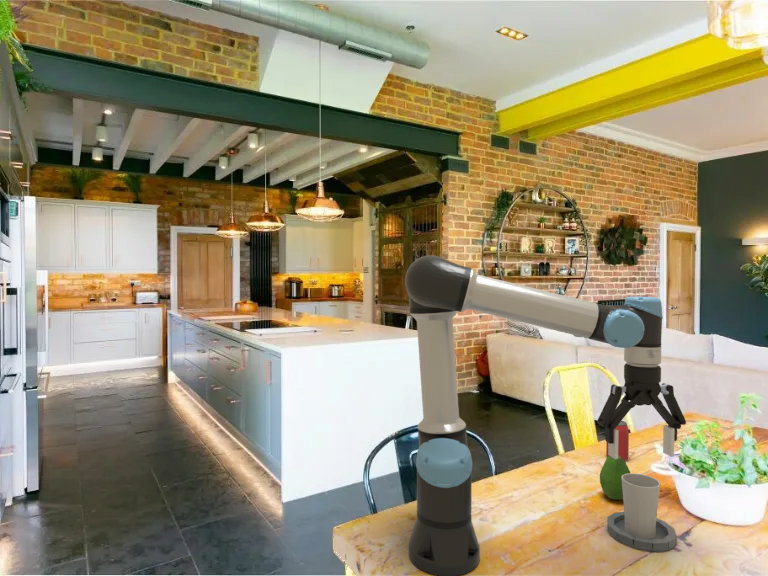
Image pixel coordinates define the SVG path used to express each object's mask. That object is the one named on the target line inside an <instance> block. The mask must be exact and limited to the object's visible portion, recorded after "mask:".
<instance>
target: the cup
mask: <svg viewBox="0 0 768 576" xmlns="http://www.w3.org/2000/svg"><path fill="white" fill-rule="evenodd" d="M621 479H622V490H623V499H622V500H623V512H624V517H625V530H626V532H627V533H629V534H630V535H632V536H635V537H639V538H644V539H652V538H654V537H655V536H656V519H657V518H658V517H657V516H658V509H659V508H658V507H659V498H660V492H661V482H660V481H659V479H657V478H655V477H652V476H650V475H646V474H643V473H635V472H634V473H633V472H632V473H631V472H630V473H628V474H624V475H622V477H621Z"/></svg>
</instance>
